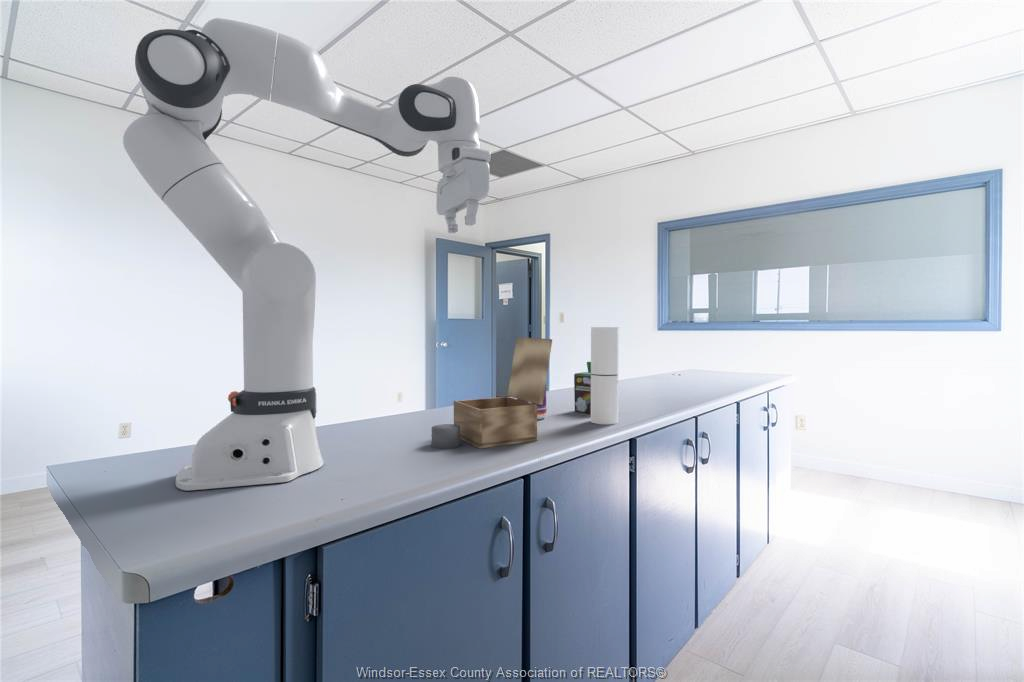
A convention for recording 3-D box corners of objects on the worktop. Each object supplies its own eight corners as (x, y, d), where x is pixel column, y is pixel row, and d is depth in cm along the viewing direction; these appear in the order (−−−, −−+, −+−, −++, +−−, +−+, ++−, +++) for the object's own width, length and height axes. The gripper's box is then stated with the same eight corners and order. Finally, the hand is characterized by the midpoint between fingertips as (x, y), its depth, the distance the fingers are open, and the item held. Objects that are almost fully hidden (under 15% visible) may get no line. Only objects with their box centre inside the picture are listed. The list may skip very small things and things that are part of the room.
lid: (548, 338, 109) (552, 339, 109) (516, 337, 122) (519, 338, 122) (538, 404, 108) (542, 404, 108) (507, 396, 121) (511, 396, 121)
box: (479, 448, 102) (479, 409, 101) (453, 435, 114) (453, 400, 114) (537, 440, 108) (537, 404, 108) (507, 429, 121) (507, 396, 120)
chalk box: (617, 411, 146) (617, 361, 145) (597, 415, 140) (598, 363, 139) (592, 407, 153) (592, 360, 152) (573, 411, 147) (573, 361, 146)
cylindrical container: (585, 421, 130) (585, 327, 130) (601, 418, 135) (602, 327, 134) (607, 425, 125) (607, 327, 124) (623, 421, 130) (624, 327, 129)
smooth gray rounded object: (437, 450, 100) (437, 431, 100) (427, 444, 106) (427, 425, 106) (464, 447, 103) (464, 428, 103) (453, 441, 109) (453, 423, 109)
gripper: (428, 173, 110) (430, 236, 111) (464, 144, 92) (466, 218, 93) (454, 177, 113) (456, 237, 114) (494, 149, 95) (496, 221, 96)
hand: (461, 229), depth 103 cm, fingers open, 8 cm apart
